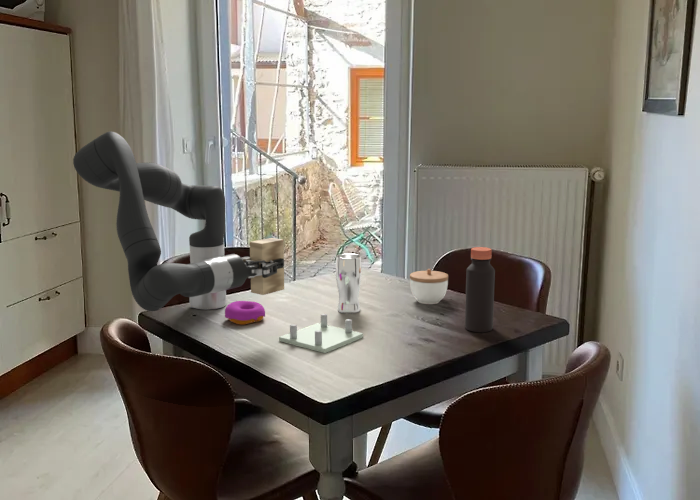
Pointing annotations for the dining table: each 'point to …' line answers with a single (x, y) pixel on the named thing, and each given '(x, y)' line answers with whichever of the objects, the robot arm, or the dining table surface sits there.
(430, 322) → the dining table surface
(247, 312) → the donut
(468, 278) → the bottle
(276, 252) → the oak block
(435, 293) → the lidded jar
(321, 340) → the peg stand
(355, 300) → the shiny metal tumbler
